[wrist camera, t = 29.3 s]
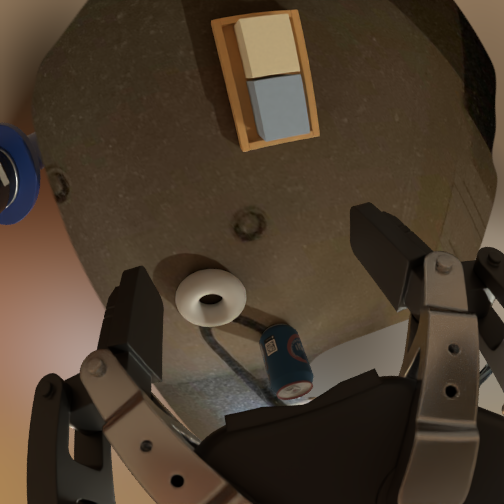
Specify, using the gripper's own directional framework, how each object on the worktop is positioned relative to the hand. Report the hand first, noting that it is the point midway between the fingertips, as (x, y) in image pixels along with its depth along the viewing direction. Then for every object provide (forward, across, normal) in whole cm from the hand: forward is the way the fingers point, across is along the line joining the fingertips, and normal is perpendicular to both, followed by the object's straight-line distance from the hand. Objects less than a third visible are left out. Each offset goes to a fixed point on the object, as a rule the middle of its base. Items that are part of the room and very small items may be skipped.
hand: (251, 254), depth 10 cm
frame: (+22, -7, -5) cm, 23 cm away
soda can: (+22, -2, +35) cm, 41 cm away
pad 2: (+21, -7, -2) cm, 22 cm away
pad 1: (+21, -7, -8) cm, 24 cm away
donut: (+22, +6, +21) cm, 31 cm away
